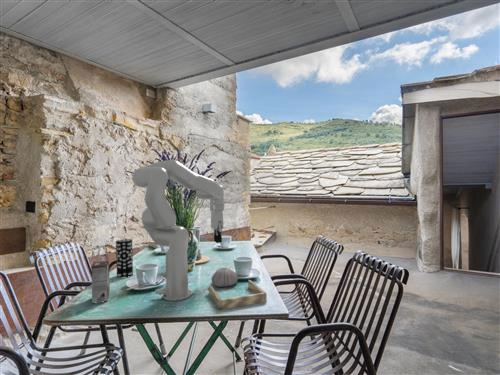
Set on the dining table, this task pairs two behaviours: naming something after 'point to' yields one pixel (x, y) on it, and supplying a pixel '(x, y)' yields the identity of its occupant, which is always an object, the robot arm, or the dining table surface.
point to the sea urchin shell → (224, 277)
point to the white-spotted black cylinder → (124, 257)
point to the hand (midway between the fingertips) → (217, 241)
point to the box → (241, 300)
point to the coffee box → (100, 281)
